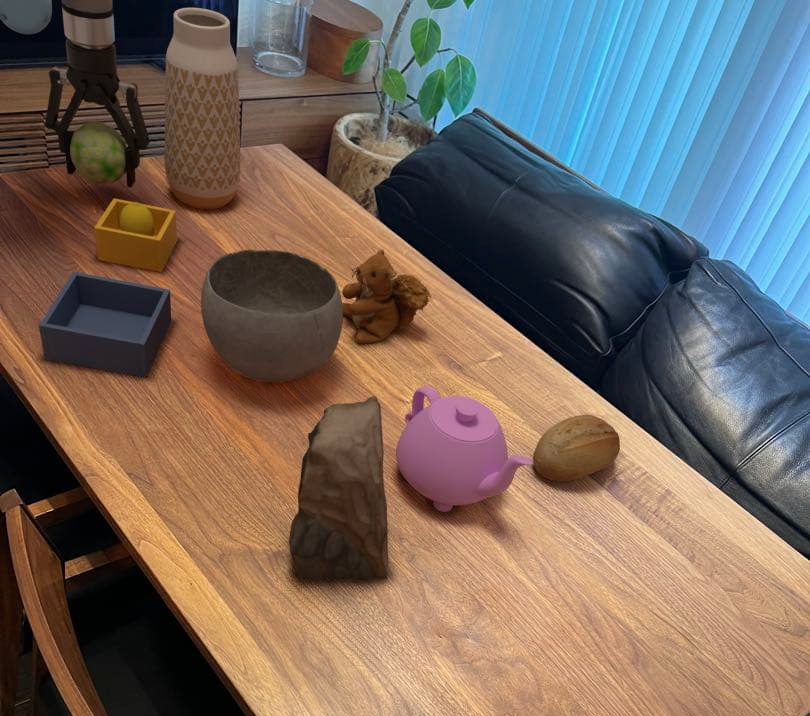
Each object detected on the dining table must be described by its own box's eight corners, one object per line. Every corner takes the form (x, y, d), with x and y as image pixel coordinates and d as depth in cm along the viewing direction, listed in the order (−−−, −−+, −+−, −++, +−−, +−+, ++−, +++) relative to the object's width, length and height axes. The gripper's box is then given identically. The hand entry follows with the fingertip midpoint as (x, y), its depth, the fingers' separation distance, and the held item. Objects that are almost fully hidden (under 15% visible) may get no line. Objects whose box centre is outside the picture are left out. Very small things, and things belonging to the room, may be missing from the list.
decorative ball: (140, 190, 146) (138, 134, 139) (87, 198, 141) (82, 140, 133) (115, 165, 150) (111, 109, 143) (62, 172, 145) (55, 114, 138)
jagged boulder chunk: (286, 583, 98) (299, 464, 83) (279, 507, 106) (290, 386, 91) (387, 580, 101) (417, 465, 86) (373, 507, 109) (398, 390, 94)
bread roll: (627, 471, 124) (648, 432, 118) (557, 500, 116) (576, 460, 110) (585, 432, 128) (603, 393, 122) (516, 458, 121) (531, 418, 115)
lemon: (124, 236, 140) (120, 192, 134) (157, 241, 141) (155, 197, 135) (119, 253, 136) (115, 208, 130) (153, 257, 137) (150, 213, 131)
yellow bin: (97, 260, 135) (94, 227, 131) (116, 229, 142) (113, 197, 138) (161, 272, 136) (160, 240, 132) (176, 241, 143) (175, 210, 139)
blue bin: (44, 359, 116) (38, 325, 112) (77, 304, 126) (73, 271, 122) (146, 377, 118) (144, 344, 113) (171, 321, 128) (170, 289, 123)
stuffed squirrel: (331, 310, 138) (341, 238, 128) (408, 308, 142) (423, 239, 133) (347, 345, 132) (358, 273, 122) (426, 342, 137) (443, 272, 127)
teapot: (539, 514, 114) (572, 442, 104) (460, 558, 106) (487, 484, 95) (439, 422, 123) (460, 348, 113) (359, 456, 115) (374, 379, 105)
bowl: (362, 372, 128) (376, 289, 117) (268, 426, 116) (274, 339, 104) (270, 311, 134) (276, 227, 123) (173, 355, 122) (169, 266, 111)
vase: (150, 190, 153) (140, 6, 131) (207, 174, 161) (206, -2, 139) (198, 222, 149) (196, 37, 126) (254, 203, 157) (261, 27, 134)
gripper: (166, 49, 132) (169, 182, 149) (27, 16, 130) (45, 155, 146) (154, 64, 127) (159, 200, 144) (9, 31, 125) (30, 173, 141)
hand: (101, 177), depth 145 cm, fingers closed on decorative ball, 10 cm apart
